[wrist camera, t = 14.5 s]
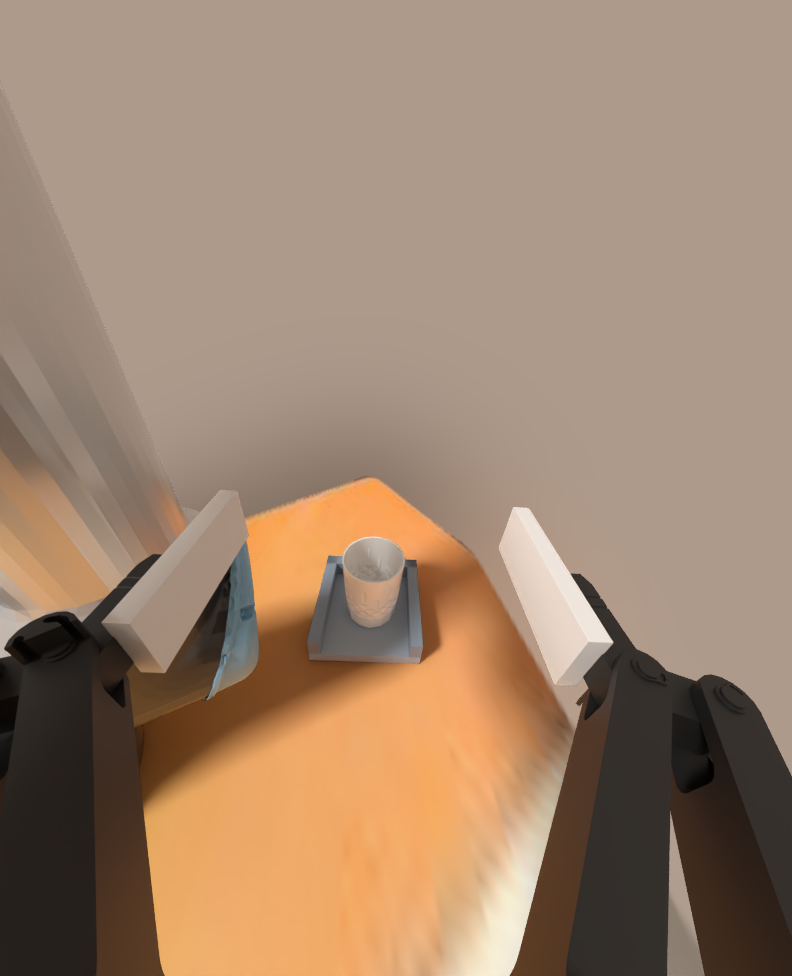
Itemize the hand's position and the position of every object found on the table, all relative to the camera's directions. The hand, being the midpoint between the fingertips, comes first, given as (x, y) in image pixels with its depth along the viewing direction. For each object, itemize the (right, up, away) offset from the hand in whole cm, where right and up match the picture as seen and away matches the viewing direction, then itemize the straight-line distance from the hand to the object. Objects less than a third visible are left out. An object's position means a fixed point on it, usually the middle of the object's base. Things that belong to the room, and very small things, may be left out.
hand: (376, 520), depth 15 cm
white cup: (-3, -16, +28) cm, 32 cm away
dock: (-3, -17, +29) cm, 34 cm away
